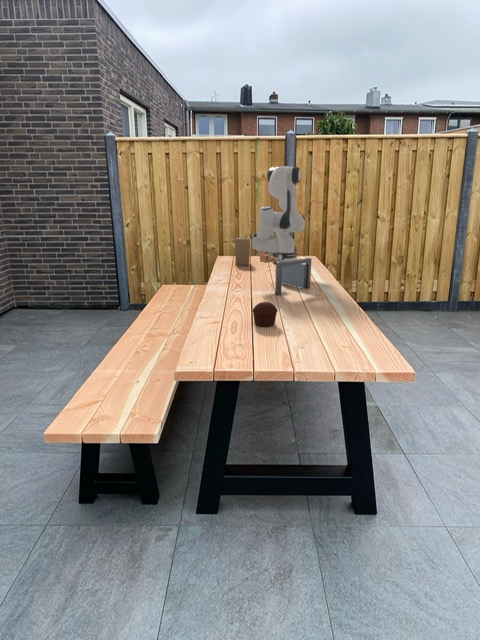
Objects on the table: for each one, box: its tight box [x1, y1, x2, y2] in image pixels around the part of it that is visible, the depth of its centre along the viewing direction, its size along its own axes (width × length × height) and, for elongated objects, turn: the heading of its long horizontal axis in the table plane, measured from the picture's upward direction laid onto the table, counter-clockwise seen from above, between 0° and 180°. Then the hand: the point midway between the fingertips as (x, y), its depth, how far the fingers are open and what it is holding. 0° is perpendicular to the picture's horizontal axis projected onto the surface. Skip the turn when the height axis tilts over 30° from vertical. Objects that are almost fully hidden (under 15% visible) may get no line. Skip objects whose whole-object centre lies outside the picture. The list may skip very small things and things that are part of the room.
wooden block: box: [234, 237, 251, 267], centre depth 342 cm, size 10×10×20 cm
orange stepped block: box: [259, 253, 280, 263], centre depth 273 cm, size 12×5×4 cm, turn 130°
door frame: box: [274, 257, 312, 296], centre depth 263 cm, size 27×2×18 cm, turn 131°
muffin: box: [251, 301, 279, 328], centre depth 204 cm, size 12×11×10 cm
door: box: [279, 260, 307, 289], centre depth 277 cm, size 22×1×14 cm, turn 41°
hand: (265, 258), depth 270 cm, fingers closed on orange stepped block, 5 cm apart
